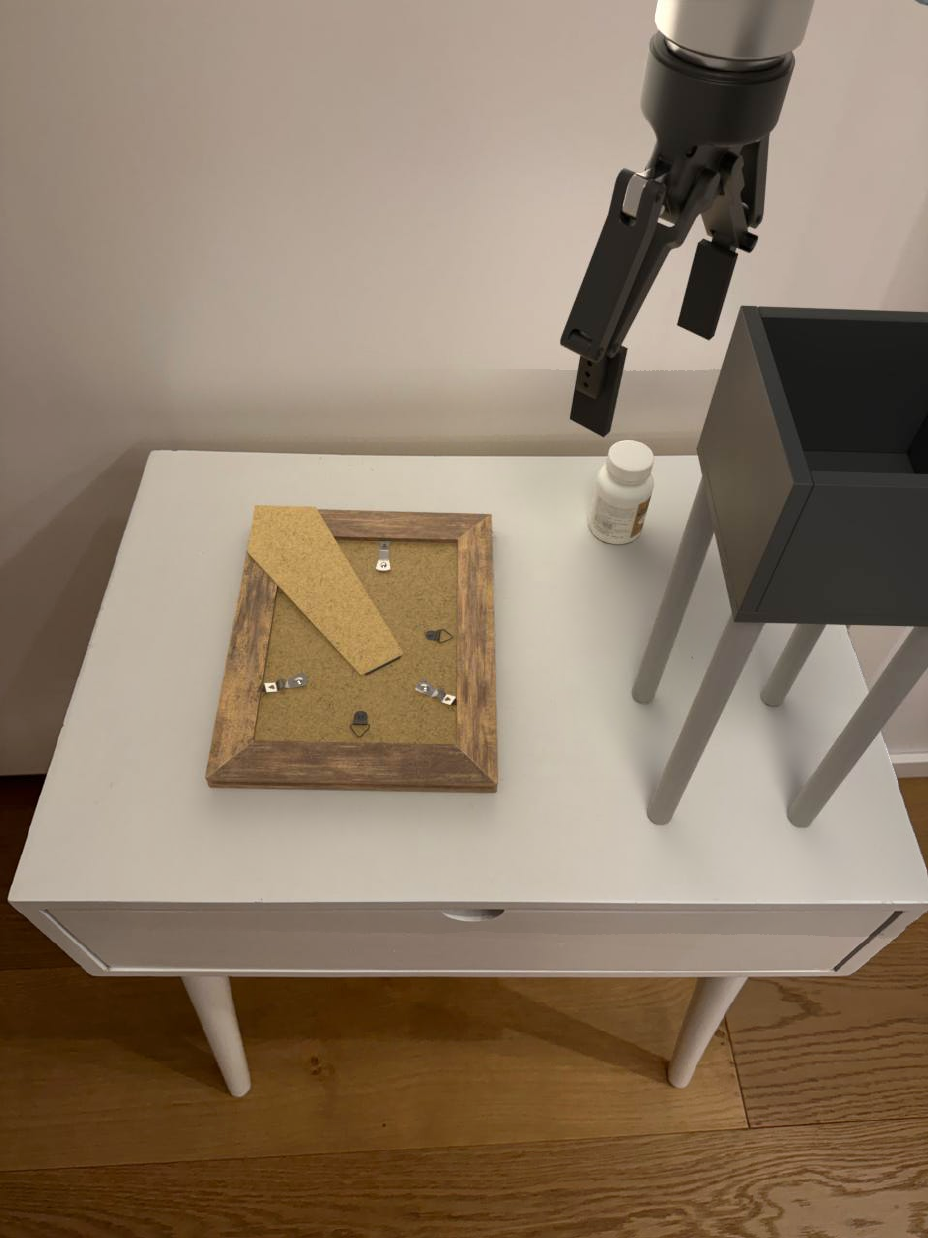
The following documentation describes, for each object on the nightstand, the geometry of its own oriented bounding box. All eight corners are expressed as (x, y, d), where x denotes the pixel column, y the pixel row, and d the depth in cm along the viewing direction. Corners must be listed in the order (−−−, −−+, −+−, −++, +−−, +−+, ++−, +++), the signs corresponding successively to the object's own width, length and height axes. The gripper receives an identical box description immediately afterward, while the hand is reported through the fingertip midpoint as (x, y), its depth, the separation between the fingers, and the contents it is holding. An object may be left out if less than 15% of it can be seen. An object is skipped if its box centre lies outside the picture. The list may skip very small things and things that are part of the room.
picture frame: (257, 520, 76) (208, 789, 62) (254, 504, 75) (203, 775, 60) (490, 527, 77) (496, 794, 62) (491, 511, 75) (498, 781, 61)
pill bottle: (644, 546, 76) (664, 476, 70) (590, 545, 76) (605, 474, 70) (638, 506, 79) (657, 435, 72) (585, 505, 78) (599, 434, 72)
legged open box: (785, 683, 68) (989, 313, 44) (822, 834, 61) (1090, 492, 37) (624, 680, 68) (740, 304, 44) (642, 831, 61) (794, 484, 37)
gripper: (773, -45, 56) (690, 276, 73) (520, 96, 44) (491, 443, 61) (892, -9, 53) (778, 316, 70) (658, 152, 41) (588, 499, 58)
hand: (645, 376), depth 66 cm, fingers open, 13 cm apart
